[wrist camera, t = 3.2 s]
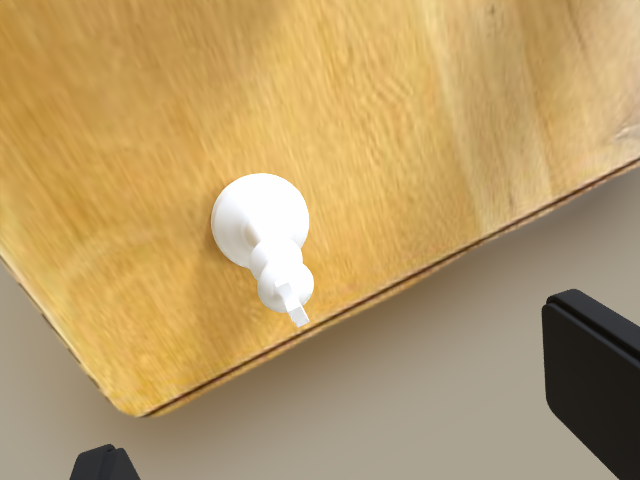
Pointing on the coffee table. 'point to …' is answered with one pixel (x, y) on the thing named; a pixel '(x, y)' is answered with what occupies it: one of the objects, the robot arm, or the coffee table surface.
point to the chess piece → (267, 239)
